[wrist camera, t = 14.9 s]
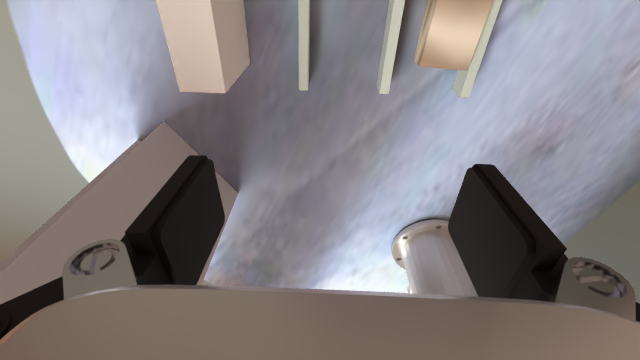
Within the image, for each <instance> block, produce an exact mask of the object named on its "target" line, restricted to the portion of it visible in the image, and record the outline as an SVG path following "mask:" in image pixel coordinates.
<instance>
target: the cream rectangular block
mask: <svg viewBox="0 0 640 360" xmlns="http://www.w3.org/2000/svg"><path fill="white" fill-rule="evenodd" d="M156 2H157V6H158V10H159V14H160V18H161V22H162V26H163V29H164V33H165V37H166V41H167V45H168V49H169V52H170V56H171V60H172V64H173V68H174V72H175V76H176V79H177V83H178V87H179V91H180V92H201V93H226V92H227V91H228V90H229V89H230V87H231V86H232V85H233V84H234V83H235V81H236V80H237V79H238V78H239V76H240V75H241V74H242V73H243V72H244V70H245V69H246V68H247V67H248V66H249V64H250V56H249V47H248V37H247V28H246V19H245V10H244V1H243V0H156Z"/></svg>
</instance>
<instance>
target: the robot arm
mask: <svg viewBox="0 0 640 360" xmlns="http://www.w3.org/2000/svg"><path fill="white" fill-rule="evenodd" d="M224 222H225V213H224V209H223V205H222V200H221V196H220V191H219V187H218V183H217V178H216V174H215V169H214V165H213V162H212V160H208V158H207V157H206V156H200V155H189V156H188V157H187V158H186V159H185V160H184V162H183V163H182V164H181V165H180V166H179V168H178V169H177V170H176V171H175V172H174V174H173V175H172V176H171V177H170V178H169V180H168V181H167V182H166V183H165V184H164V186H163V187H162V188H161V189H160V190H159V192H158V193H157V194H156V195H155V196H154V198H153V199H152V200H151V201H150V202H149V204H148V205H147V206H146V207H145V208H144V209H143V211H142V212H141V213H140V214H139V215H138V217H137V218H136V219H135V220H134V221H133V223H132V224H131V225H130V226H129V227H128V229H127V230H126V231H125V235H124V236H123V238H122V239H121V240H120V241H119V240H116V239H106V240H100V241H97V242H93V243H91V244H89V245H86V246H84V247H82V248H81V249H79V250H78V251H76V252H75V253H74V254H73V255H72V256H71V257H70V258H68V260H67V261H66V263H65V264H64V266H63V271H62V274H63V276H62V277H59V278H57V279H55V280H53V281H51V282H48V283H46V284H44V285H42V286H40V287H37V288H35V289H33V290H31V291H29V292H26V293H24V294H22V295H20V296H18V297H16V298H13V299H11V300H9V301H7V302H5V303H2V304H0V360H640V304H639V303H637V302H636V295H635V291H634V289H633V287H632V286H631V284H630V283H629V282H628V281H627V280H626V279H625V278H624V277H623V276H622V275H621V274H620V273H618V272H616V271H615V270H614V269H612V268H610V267H609V266H607V265H605V264H603V263H601V262H598V261H595V260H592V259H589V258H583V257H573V258H570V259H568V258H567V257H566V255H564V252H565V251H566V249H567V248H566V247H565V246H564V245H563V244H562V243H561V241H560V240H559V239H558V238H557V237H556V236H555V235H554V233H553V232H552V231H551V230H550V229H549V228H548V227H547V225H546V224H545V223H544V222H543V221H542V220H541V219H540V217H539V216H538V215H537V214H536V213H535V212H534V211H533V209H532V208H531V207H530V206H529V205H528V204H527V203H526V201H525V200H524V199H523V198H522V197H521V196H520V195H519V193H518V192H517V191H516V190H515V189H514V188H513V187H512V185H511V184H510V183H509V182H508V181H507V180H506V178H505V177H504V176H503V175H502V174H501V173H500V172H499V170H498V169H497V168H496V167H495V166H494V165H490V164H475V165H474V166H473V167H472V168H469V169H468V170H467V172H466V175H465V177H464V180H463V183H462V186H461V189H460V191H459V194H458V197H457V200H456V203H455V206H454V208H453V211H452V214H451V217H450V220H449V221H446V220H437V219H436V220H426V221H421V222H418V223H415V224H412V225H410V226H408V227H407V228H405V229H404V230H402V231H401V232H400V233H399V234H398V235H397V236H396V237H395V239H394V241H393V243H392V248H391V250H392V255H393V259H394V260H395V262H396V263H397V264H398V265H399V266H400V267H402V268H404V269H405V270H406V273H407V277H408V281H409V286H408V289H407V290H408V292H409V293H393V292H370V291H346V290H322V289H298V288H271V287H244V286H214V285H197V282H198V280H199V278H200V276H201V274H202V271H203V269H204V267H205V265H206V262H207V260H208V258H209V256H210V254H211V251H212V249H213V247H214V245H215V243H216V240H217V238H218V236H219V234H220V232H221V229H222V227H223V225H224Z"/></svg>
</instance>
